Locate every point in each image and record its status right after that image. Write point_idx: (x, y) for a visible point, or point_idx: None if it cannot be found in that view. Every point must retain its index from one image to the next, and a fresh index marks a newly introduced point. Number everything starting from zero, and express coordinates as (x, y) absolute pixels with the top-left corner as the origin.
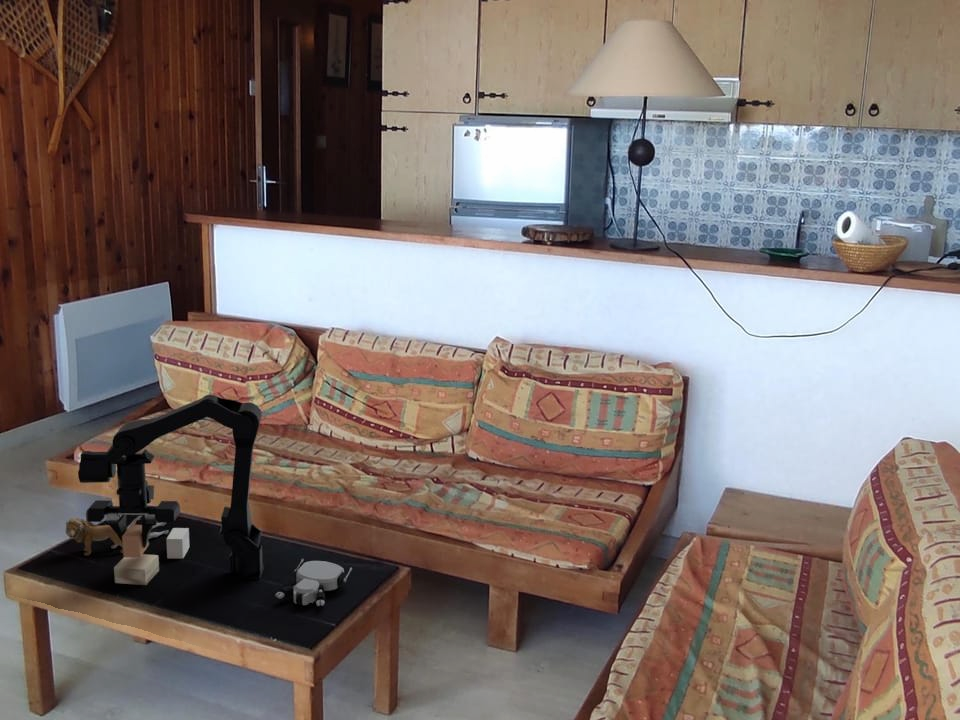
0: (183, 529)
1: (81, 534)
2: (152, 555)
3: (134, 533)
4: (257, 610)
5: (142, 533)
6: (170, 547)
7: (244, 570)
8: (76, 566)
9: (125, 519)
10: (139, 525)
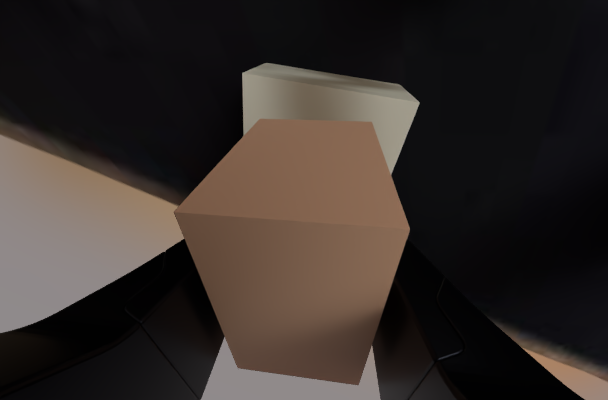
0: None
1: None
2: (385, 105)
3: (309, 356)
4: None
5: (382, 385)
6: None
7: None
8: (54, 48)
9: (87, 388)
10: (301, 240)
